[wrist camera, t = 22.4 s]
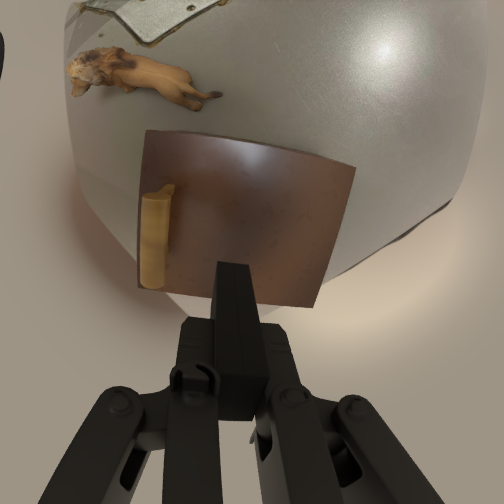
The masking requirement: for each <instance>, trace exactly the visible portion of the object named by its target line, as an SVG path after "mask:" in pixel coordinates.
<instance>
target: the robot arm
mask: <svg viewBox="0 0 504 504" xmlns="http://www.w3.org/2000/svg"><path fill="white" fill-rule="evenodd" d="M254 415H255V419H256V427H255V429H254V431H253V433H252V436H251V438H250V444H252V443H253V442H255V450H256V457H257V466H258V473H259V480H260V487H261V494H262V502H263V504H445V503H444V502H443V501H442V499H441V498H440V496H439V495H438V494H437V492H436V491H435V490H434V488H433V487H432V485H431V484H430V483H429V481H428V480H427V479H426V477H425V476H424V475H423V473H422V472H421V470H420V469H419V468H418V466H417V465H416V464H415V462H414V461H413V460H412V458H411V457H410V456H409V454H408V453H407V451H406V450H405V449H404V447H403V446H402V445H401V443H400V442H399V441H398V439H397V438H396V437H395V435H394V434H393V433H392V431H391V430H390V429H389V427H388V426H387V424H386V423H385V422H384V420H383V419H382V418H381V416H380V415H379V414H378V412H377V411H376V410H375V408H374V407H373V406H372V404H371V403H370V402H369V401H368V400H367V399H365V398H363V397H361V396H359V395H347V396H345V397H343V398H342V399H341V400H340V401H339V402H335V401H330V400H325V399H320V398H317V397H315V396H313V395H312V394H311V393H310V391H309V390H308V389H307V388H306V387H304V386H303V385H302V384H301V382H300V379H299V375H298V372H297V369H296V365H295V362H294V358H293V355H292V353H291V348H290V345H289V341H288V338H287V334H286V332H285V331H284V330H283V329H282V328H281V326H280V325H279V324H272V323H260V320H259V315H258V310H257V305H256V299H255V294H254V289H253V284H252V278H251V273H250V268H249V265H247V264H238V263H230V262H222V261H217V266H216V273H215V280H214V288H213V295H212V302H211V316H210V319H206V318H197V317H189V316H188V318H187V319H186V320H185V321H184V322H183V323H182V325H181V331H180V338H179V345H178V351H177V358H176V366H174V367H173V368H172V370H171V373H170V385H169V386H168V387H167V388H165V389H164V390H162V391H159V392H155V393H149V394H140V395H139V394H138V393H137V392H136V391H134V390H132V389H131V388H128V387H124V386H116V387H111V388H109V389H106V390H105V391H104V392H103V393H102V394H101V395H100V396H99V398H98V400H97V401H96V403H95V404H94V406H93V407H92V409H91V411H90V412H89V414H88V416H87V417H86V419H85V421H84V422H83V424H82V425H81V427H80V429H79V430H78V432H77V434H76V435H75V437H74V439H73V440H72V442H71V444H70V445H69V447H68V449H67V451H66V452H65V454H64V456H63V458H62V459H61V461H60V463H59V465H58V467H57V468H56V470H55V472H54V474H53V476H52V477H51V479H50V481H49V483H48V485H47V487H46V489H45V490H44V492H43V494H42V496H41V498H40V500H39V502H38V504H130V501H131V499H132V497H133V494H134V492H135V489H136V487H137V484H138V482H139V480H140V477H141V475H142V472H143V470H144V468H145V465H146V463H147V460H148V458H149V455H150V453H151V451H153V450H161V449H165V454H164V469H163V470H164V471H163V491H162V504H223V497H222V484H221V483H222V482H221V466H220V448H219V426H218V420H223V421H252V420H253V418H254Z"/></svg>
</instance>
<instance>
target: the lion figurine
mask: <svg viewBox="0 0 504 504" xmlns="http://www.w3.org/2000/svg"><path fill="white" fill-rule="evenodd" d="M65 70H66V71H67V73H69V75H70V77H71V82H72V84H73V90H72V95H73V97H78V96H82V95H83V94H84V93H85V92H86V91H87V90H88V89H89V88H90V86H91V85H96V86H100V85H105V86H113V85H115V86H118V87H120V88H125V91H126V92H127V93H129V92H132V91H133V90H134V89H135V87H144V88H156V89H157V90H158V91H159V92H160V93H161V95H162V96H163V97H165V98H166V99H168V100H170V101H171V102H173V103H176V104H180V105H184V106H188V107H190V109H191V110H192V111H199V110H200V109H201V107H202V104H201V103H200V102H198V101H192V100H189V99H187V98H186V97H185V95H184V93H187V94H190V95H192V96H194V97H197V98H200V99H206V98H210V97H214V98H217V97H220V96H222V95H223V93H222V92H215V91H213V92H210V93H207V94H202V93H200V92H198V91H197V90H195V89H194V88H192V87H191V86H190V85H189V83H191V82H192V81H193V80H192V78H191V76H190V74H189V73H188V72H187V71H186V70H184V69H182V68H180V67H174V66H170V65H164V64H161V63H158V62H156V61H154V60H151V59H149V58H147V57H143V56H138V55H131V54H130V53H128V52H125V50H124V49H122V48H117V47H114V46H113V47H110V48H101V49H100V48H95V49H94V50H89V51H85V52H82V53H79V55H78V56H77V57H76V58H74V59H73V60H72V61H71V63H70V64H69V65H68V67H66V68H65Z"/></svg>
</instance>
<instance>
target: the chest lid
mask: <svg viewBox="0 0 504 504" xmlns="http://www.w3.org/2000/svg"><path fill="white" fill-rule="evenodd" d="M355 171H356V167H353V166H350V165H347V164H343V163H340V162H336V161H333V160H329V159H325V158H321V157H317V156H313V155H309V154H305V153H301V152H297V151H292V150H288V149H283V148H278V147H274V146H269V145H263V144H258V143H253V142H247V141H241V140H235V139H229V138H222V137H215V136H208V135H200V134H191V133H182V132H171V131H159V130H146V133H145V140H144V148H143V156H142V166H141V176H140V189H139V204H138V226H137V282H138V288H142V289H148V290H155V291H161V292H168V293H175V294H182V295H189V296H197V297H205V298H212V295H213V288H214V280H215V273H216V266H217V261H222V262H230V263H238V264H247V265H249V268H250V273H251V278H252V284H253V289H254V294H255V299H256V303H258V304H268V305H279V306H291V307H304V308H313V306H314V303H315V301H316V298H317V295H318V292H319V289H320V287H321V284H322V281H323V278H324V275H325V272H326V269H327V266H328V263H329V260H330V257H331V254H332V251H333V248H334V245H335V242H336V239H337V235H338V232H339V229H340V225H341V222H342V219H343V215H344V212H345V208H346V205H347V201H348V198H349V194H350V190H351V186H352V183H353V179H354V175H355Z"/></svg>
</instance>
